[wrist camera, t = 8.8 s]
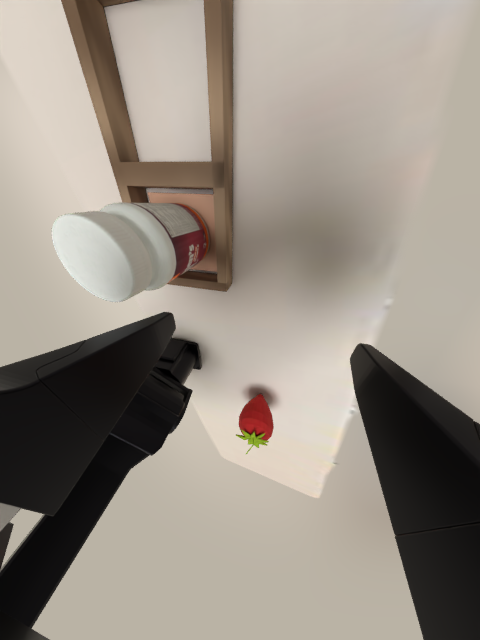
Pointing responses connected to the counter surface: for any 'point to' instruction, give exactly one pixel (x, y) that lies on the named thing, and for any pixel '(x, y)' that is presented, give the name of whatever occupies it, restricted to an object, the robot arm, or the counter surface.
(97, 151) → the counter surface
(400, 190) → the counter surface
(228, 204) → the caddy
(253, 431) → the strawberry
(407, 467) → the robot arm
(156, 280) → the pill bottle
